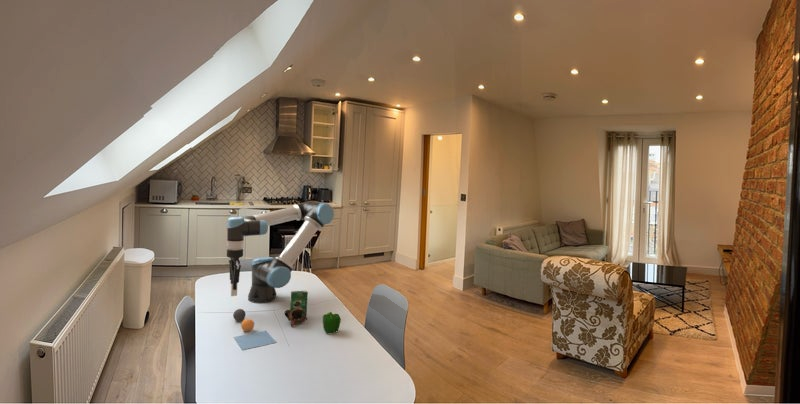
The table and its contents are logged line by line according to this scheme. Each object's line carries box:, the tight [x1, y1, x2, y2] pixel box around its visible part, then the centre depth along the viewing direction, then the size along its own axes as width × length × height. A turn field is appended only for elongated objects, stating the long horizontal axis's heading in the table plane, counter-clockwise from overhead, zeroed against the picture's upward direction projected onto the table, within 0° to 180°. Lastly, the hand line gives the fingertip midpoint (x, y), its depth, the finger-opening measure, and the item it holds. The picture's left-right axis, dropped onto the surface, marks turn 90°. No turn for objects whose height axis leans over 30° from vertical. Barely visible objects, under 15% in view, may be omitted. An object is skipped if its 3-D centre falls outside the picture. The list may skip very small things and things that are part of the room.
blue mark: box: [233, 330, 277, 351], centre depth 171 cm, size 14×14×1 cm
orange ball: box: [240, 318, 255, 332], centre depth 180 cm, size 6×6×6 cm
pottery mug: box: [283, 308, 308, 328], centre depth 191 cm, size 12×10×8 cm
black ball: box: [232, 308, 246, 322], centre depth 191 cm, size 6×6×6 cm
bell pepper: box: [322, 311, 342, 334], centre depth 183 cm, size 8×8×10 cm
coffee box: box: [289, 290, 309, 317], centre depth 199 cm, size 8×3×13 cm, turn 115°
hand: (233, 295), depth 198 cm, fingers closed
